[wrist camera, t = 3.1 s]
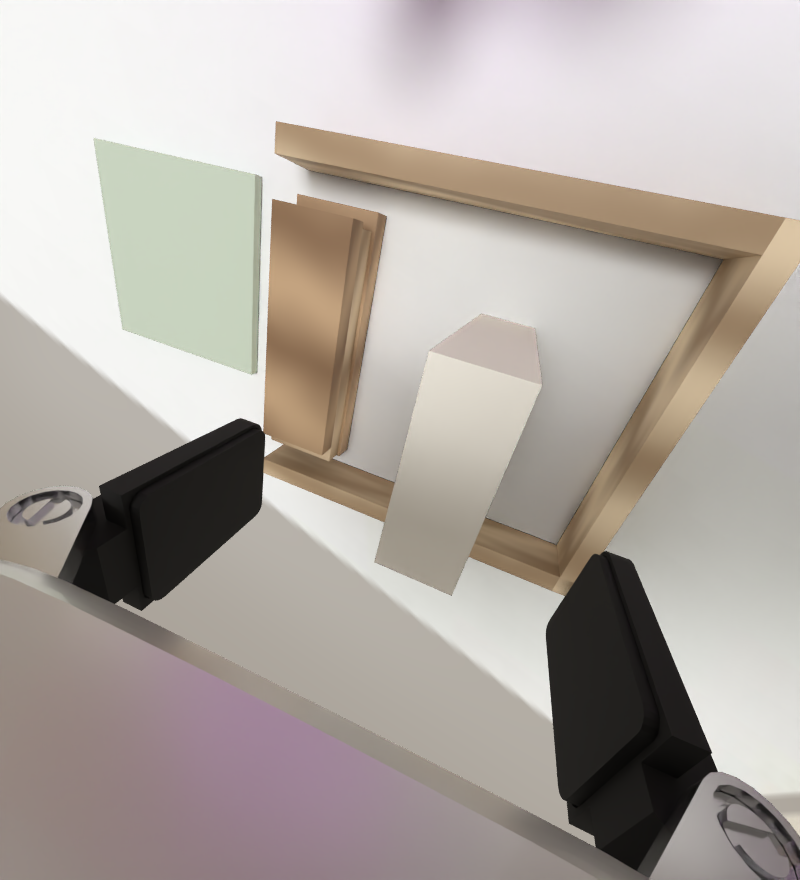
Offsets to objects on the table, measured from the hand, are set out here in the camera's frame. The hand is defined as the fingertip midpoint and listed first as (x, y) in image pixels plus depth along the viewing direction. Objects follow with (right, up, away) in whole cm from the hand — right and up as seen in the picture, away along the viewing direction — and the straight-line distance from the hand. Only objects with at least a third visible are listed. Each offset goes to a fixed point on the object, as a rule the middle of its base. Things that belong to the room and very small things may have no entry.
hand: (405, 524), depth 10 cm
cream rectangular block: (+5, +5, +12) cm, 14 cm away
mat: (-15, +14, +15) cm, 26 cm away
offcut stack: (-5, +9, +13) cm, 17 cm away
